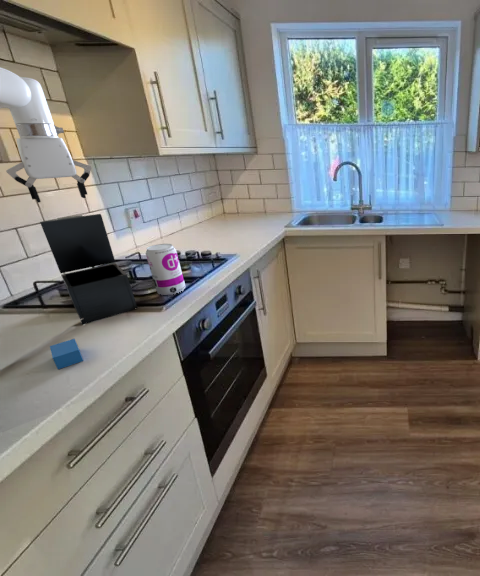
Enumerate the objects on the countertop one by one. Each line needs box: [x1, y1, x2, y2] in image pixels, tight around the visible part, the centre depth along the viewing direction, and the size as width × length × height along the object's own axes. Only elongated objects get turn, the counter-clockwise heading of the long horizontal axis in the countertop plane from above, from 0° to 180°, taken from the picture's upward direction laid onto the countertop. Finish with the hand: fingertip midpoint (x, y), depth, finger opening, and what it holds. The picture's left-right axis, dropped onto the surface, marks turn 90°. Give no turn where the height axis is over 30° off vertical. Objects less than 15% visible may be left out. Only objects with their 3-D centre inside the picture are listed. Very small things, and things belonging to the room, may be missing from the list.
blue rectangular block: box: [49, 338, 84, 370], centre depth 82 cm, size 7×4×3 cm, turn 45°
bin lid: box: [39, 213, 116, 274], centre depth 104 cm, size 15×13×5 cm
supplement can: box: [145, 243, 186, 296], centre depth 114 cm, size 8×8×15 cm
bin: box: [61, 262, 139, 326], centre depth 104 cm, size 15×13×11 cm
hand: (61, 199), depth 100 cm, fingers open, 9 cm apart
